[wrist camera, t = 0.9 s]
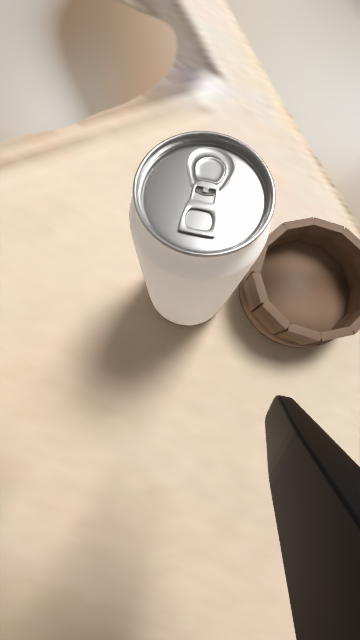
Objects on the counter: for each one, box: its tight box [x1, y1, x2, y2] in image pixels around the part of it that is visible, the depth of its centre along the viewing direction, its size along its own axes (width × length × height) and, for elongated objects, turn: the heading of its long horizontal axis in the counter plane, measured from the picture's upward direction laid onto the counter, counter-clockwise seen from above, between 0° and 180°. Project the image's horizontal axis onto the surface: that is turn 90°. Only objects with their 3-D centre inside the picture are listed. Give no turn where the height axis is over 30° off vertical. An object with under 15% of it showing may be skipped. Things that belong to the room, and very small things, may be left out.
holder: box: [239, 217, 360, 347], centre depth 20 cm, size 10×10×4 cm
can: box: [129, 131, 275, 325], centre depth 16 cm, size 6×6×12 cm
